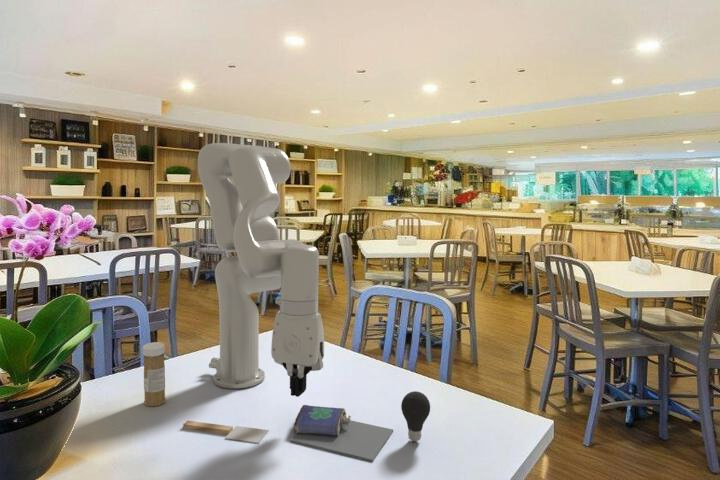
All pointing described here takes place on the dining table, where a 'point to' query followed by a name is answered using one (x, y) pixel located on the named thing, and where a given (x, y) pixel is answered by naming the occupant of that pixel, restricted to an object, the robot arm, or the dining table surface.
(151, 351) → the sprinkles bottle
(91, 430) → the dining table surface
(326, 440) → the slate board
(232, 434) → the turner
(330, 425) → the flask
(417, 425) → the light bulb
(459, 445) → the dining table surface
